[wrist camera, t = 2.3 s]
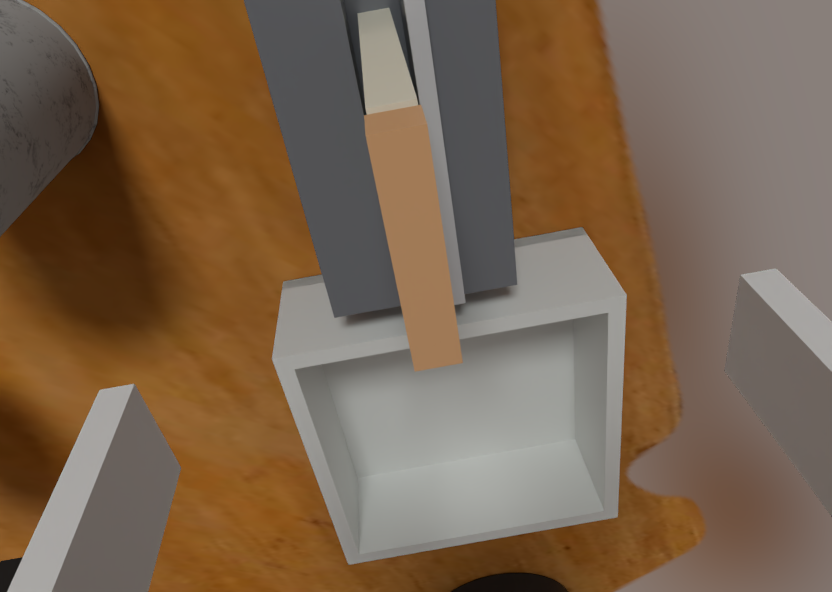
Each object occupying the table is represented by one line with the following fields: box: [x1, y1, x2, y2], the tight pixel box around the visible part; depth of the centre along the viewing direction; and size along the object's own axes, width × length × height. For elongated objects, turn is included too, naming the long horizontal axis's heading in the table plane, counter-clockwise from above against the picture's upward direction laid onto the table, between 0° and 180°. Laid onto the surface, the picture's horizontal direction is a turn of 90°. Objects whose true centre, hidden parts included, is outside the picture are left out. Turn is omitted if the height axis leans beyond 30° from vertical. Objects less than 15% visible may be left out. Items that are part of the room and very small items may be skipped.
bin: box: [272, 227, 627, 565], centre depth 44 cm, size 20×20×8 cm
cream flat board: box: [357, 8, 463, 372], centre depth 25 cm, size 8×2×16 cm, turn 9°
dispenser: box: [244, 0, 517, 318], centre depth 32 cm, size 20×10×9 cm, turn 9°
